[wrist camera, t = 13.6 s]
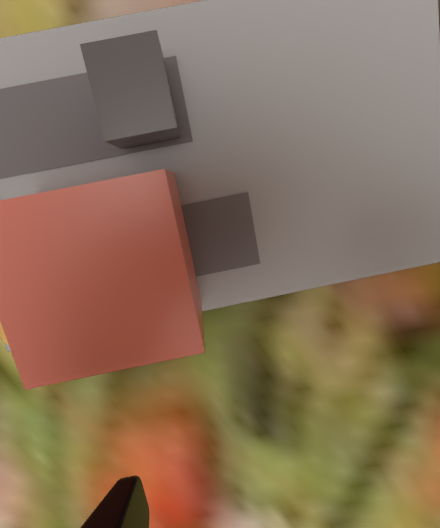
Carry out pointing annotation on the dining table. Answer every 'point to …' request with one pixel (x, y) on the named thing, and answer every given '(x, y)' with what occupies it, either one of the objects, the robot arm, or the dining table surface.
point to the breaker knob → (131, 89)
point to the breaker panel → (256, 135)
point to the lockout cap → (98, 279)
